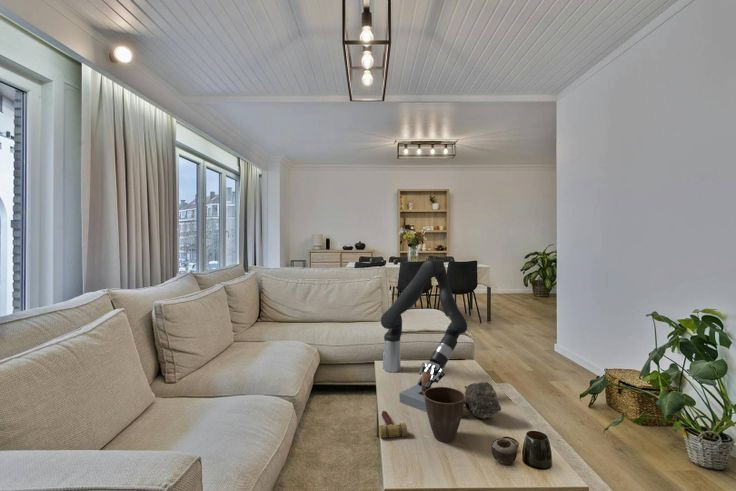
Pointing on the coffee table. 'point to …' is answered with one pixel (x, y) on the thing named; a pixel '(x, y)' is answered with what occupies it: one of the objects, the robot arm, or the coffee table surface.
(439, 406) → the plant pot
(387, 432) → the gavel
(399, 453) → the coffee table surface
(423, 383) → the cherry peg
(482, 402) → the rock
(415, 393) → the slate socket board
